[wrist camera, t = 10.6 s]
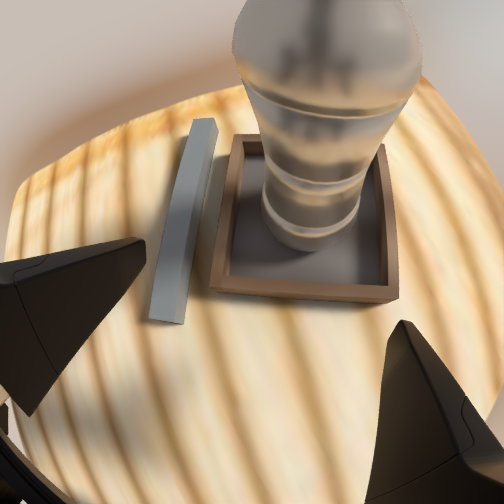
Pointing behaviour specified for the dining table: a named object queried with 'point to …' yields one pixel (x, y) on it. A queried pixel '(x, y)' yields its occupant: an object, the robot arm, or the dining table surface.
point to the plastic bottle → (322, 104)
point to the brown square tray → (303, 262)
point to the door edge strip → (183, 224)
